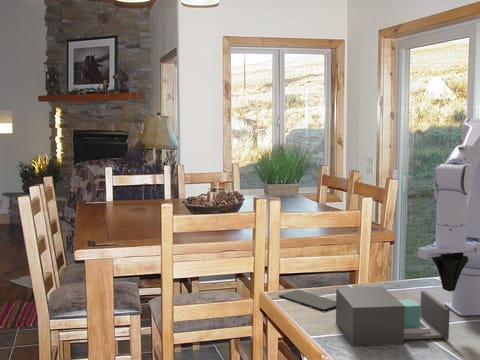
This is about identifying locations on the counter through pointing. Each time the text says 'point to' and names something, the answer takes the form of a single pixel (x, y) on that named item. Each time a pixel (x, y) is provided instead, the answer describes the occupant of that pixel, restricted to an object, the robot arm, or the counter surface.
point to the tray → (430, 320)
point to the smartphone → (310, 300)
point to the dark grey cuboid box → (370, 316)
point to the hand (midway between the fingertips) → (448, 289)
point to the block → (411, 314)
